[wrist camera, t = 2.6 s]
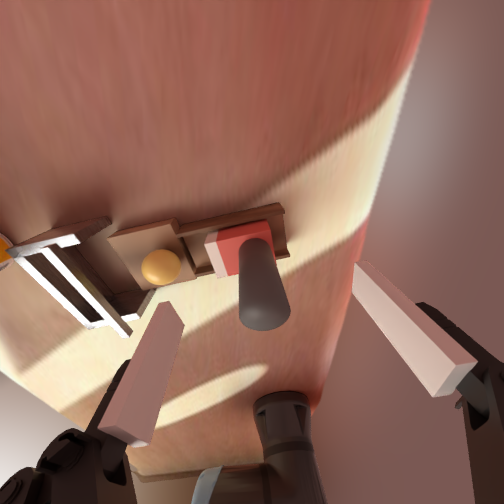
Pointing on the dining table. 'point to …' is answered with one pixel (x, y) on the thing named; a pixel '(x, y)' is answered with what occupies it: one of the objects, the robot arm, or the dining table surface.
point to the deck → (152, 249)
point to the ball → (161, 267)
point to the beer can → (3, 259)
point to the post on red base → (251, 272)
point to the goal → (79, 277)
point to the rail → (199, 229)
